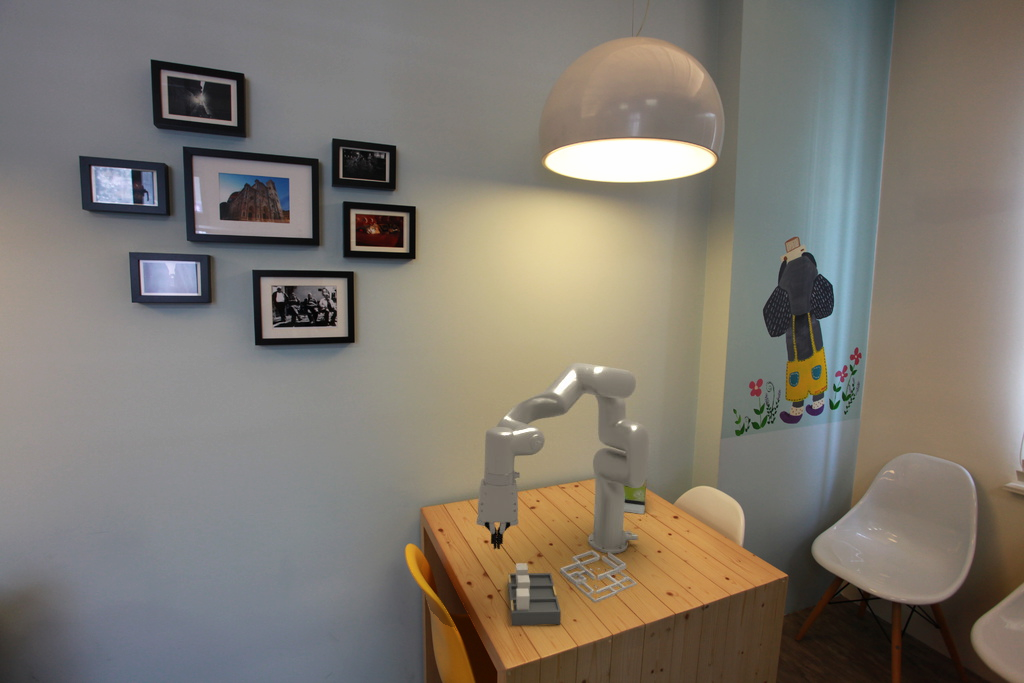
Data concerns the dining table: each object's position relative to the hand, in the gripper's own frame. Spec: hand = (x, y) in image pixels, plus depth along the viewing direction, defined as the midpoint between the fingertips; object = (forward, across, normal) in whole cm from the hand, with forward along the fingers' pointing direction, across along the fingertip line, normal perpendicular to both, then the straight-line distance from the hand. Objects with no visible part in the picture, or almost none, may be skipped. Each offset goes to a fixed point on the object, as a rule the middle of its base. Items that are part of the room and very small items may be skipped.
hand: (496, 546), depth 118 cm
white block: (+13, -7, 0) cm, 15 cm away
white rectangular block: (+13, -7, -6) cm, 16 cm away
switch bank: (+16, -10, 0) cm, 19 cm away
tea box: (+15, -52, -56) cm, 78 cm away
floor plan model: (+16, -29, -15) cm, 37 cm away
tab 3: (+13, -7, +5) cm, 16 cm away
